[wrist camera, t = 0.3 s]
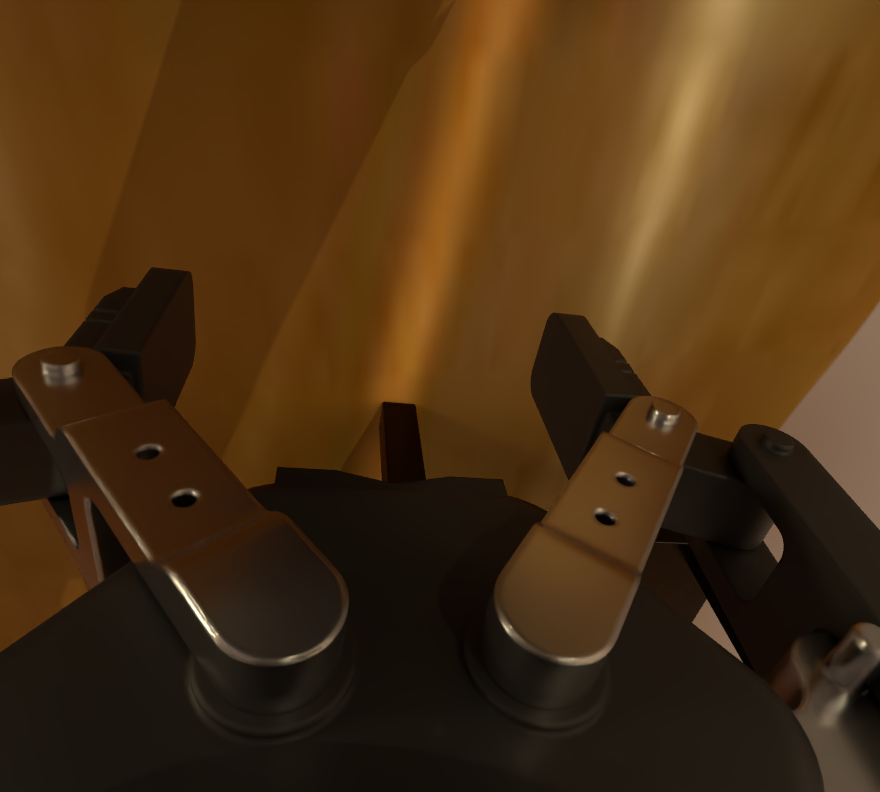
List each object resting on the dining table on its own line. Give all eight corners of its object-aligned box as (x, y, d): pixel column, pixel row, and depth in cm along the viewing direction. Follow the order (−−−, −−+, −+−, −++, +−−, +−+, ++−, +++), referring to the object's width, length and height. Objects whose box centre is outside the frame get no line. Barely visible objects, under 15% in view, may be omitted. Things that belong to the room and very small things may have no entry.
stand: (382, 401, 37) (451, 1470, 10) (656, 422, 40) (1233, 1268, 14) (352, 605, 47) (349, 1405, 21) (573, 608, 50) (812, 1298, 24)
